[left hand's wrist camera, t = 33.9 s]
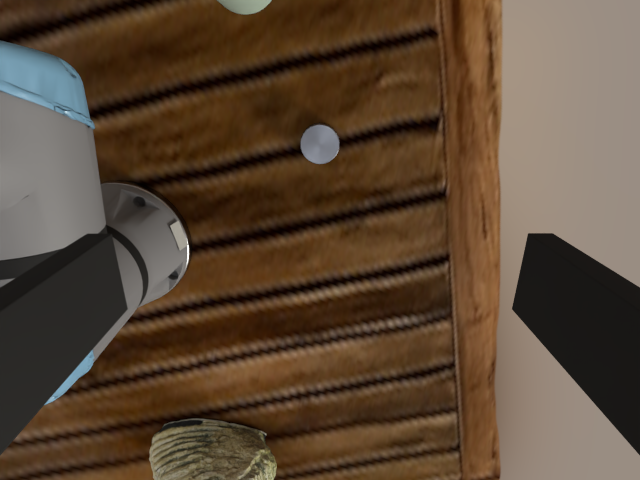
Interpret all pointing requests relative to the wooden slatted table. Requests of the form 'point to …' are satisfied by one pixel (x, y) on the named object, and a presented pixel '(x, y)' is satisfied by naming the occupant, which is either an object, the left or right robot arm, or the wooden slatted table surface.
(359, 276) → the wooden slatted table surface
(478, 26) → the wooden slatted table surface
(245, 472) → the fossil
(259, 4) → the bottle
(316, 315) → the wooden slatted table surface
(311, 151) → the cap
